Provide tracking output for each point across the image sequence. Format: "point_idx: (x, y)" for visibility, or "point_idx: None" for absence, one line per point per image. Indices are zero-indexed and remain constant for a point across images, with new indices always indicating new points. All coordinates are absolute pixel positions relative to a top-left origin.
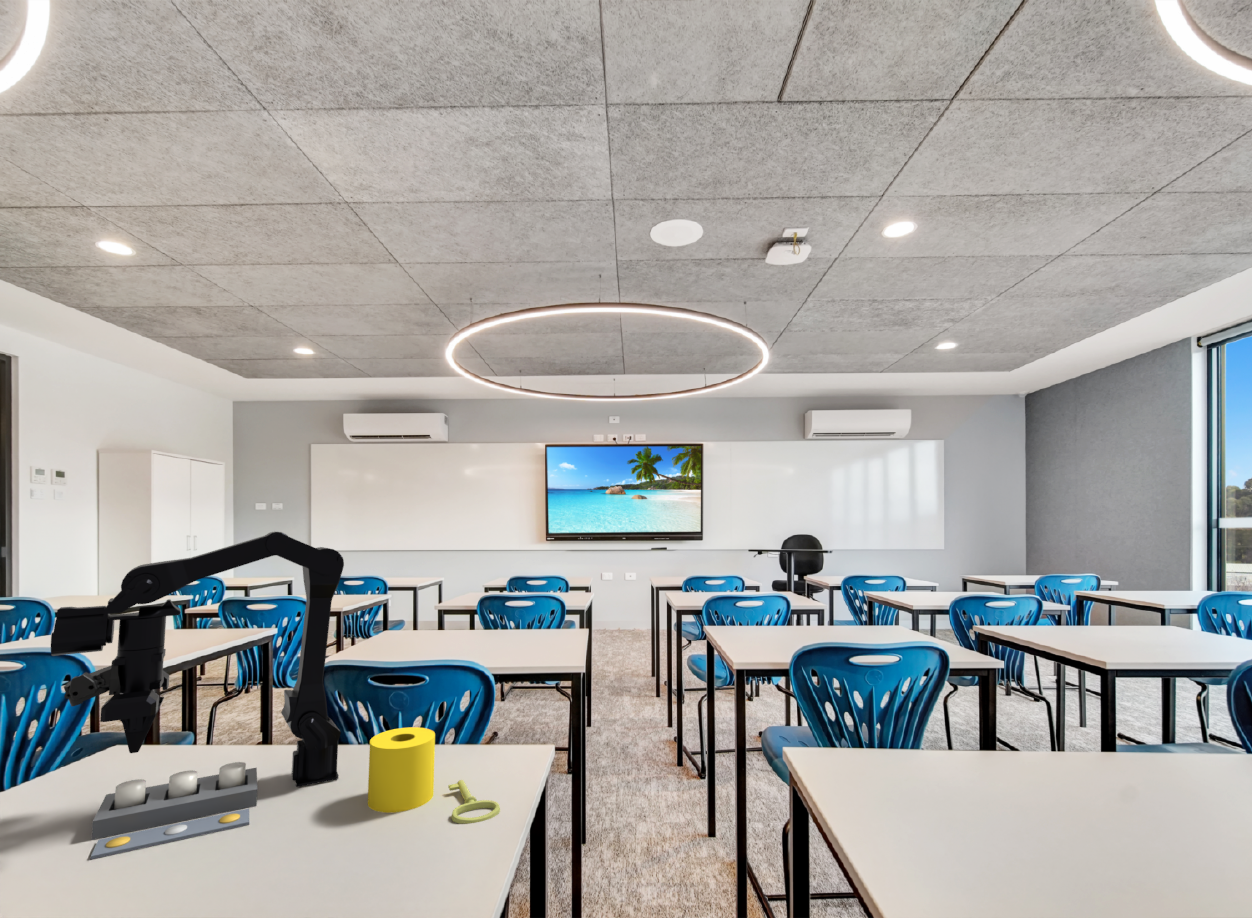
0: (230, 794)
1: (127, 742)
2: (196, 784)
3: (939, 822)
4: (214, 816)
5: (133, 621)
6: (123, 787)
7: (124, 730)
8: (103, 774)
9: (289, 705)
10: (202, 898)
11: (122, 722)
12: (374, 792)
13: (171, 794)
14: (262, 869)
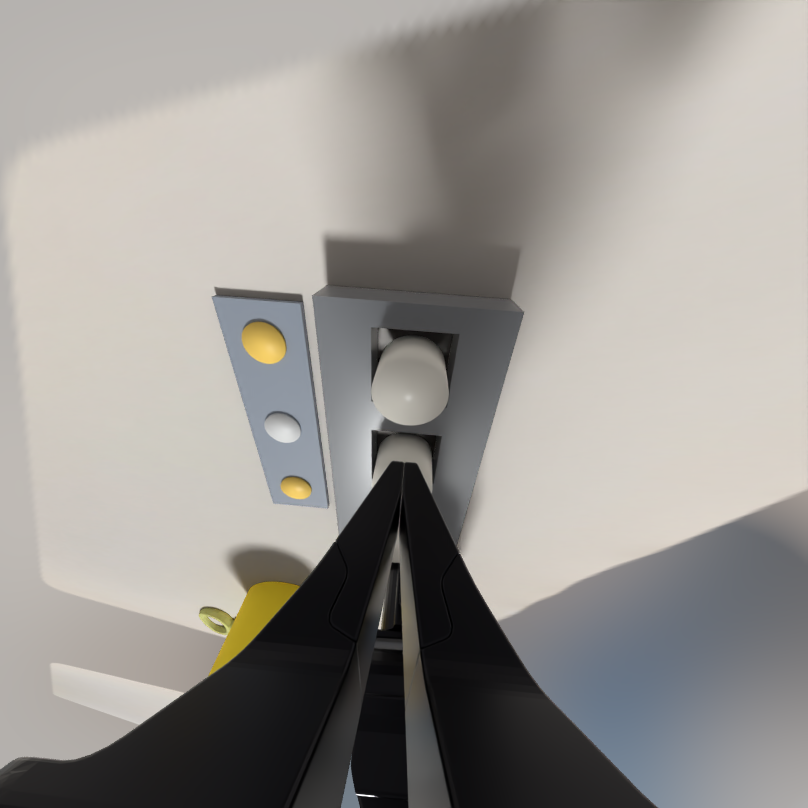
0: (336, 511)
1: (366, 497)
2: None
3: (140, 696)
4: (318, 473)
5: None
6: (393, 378)
7: (320, 563)
8: None
9: (357, 756)
10: (53, 442)
11: (252, 641)
12: (252, 606)
13: (385, 445)
14: (128, 495)
